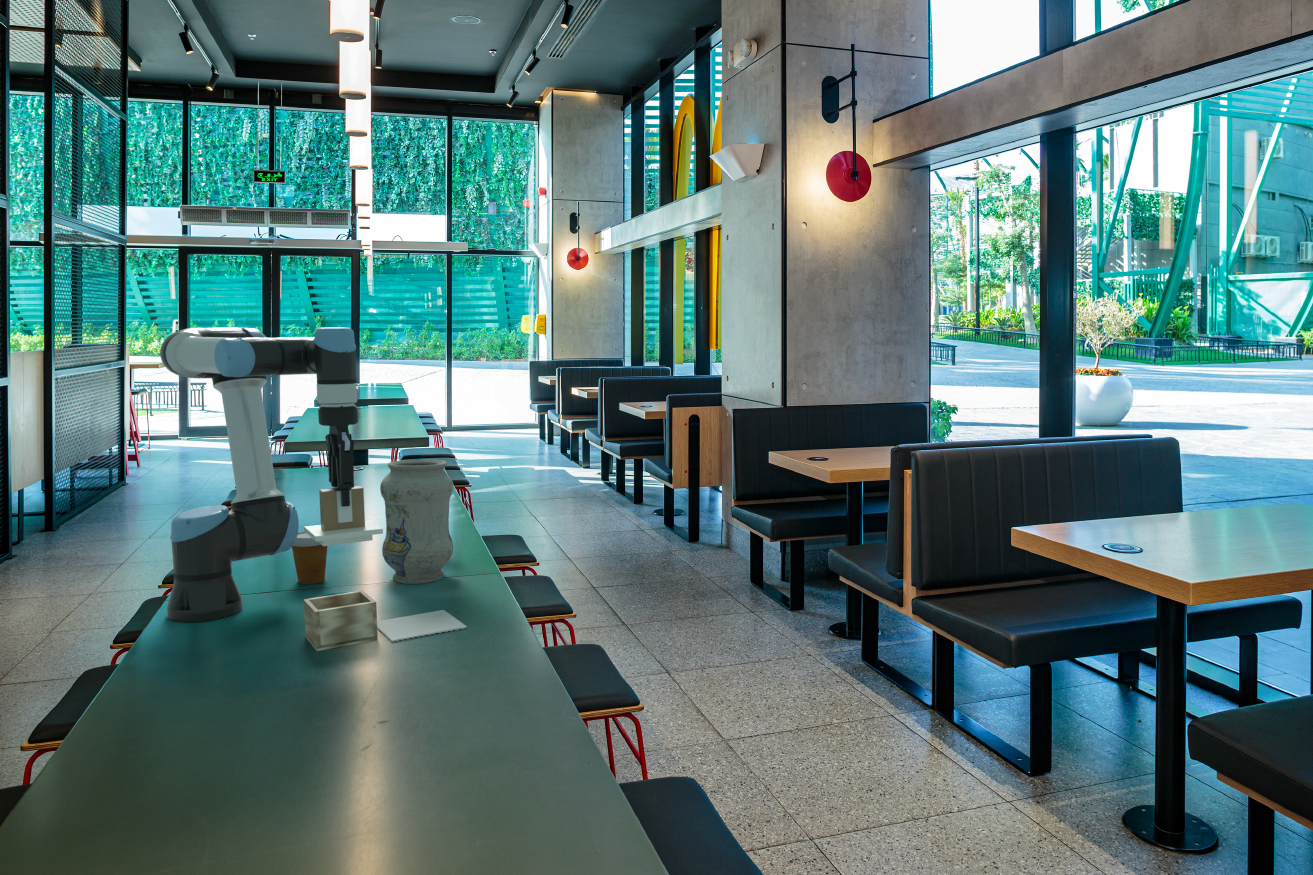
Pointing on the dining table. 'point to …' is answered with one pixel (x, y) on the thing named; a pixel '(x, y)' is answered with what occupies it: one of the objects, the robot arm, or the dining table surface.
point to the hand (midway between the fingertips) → (342, 520)
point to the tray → (419, 625)
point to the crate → (340, 620)
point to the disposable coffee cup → (309, 559)
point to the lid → (346, 531)
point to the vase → (417, 520)
